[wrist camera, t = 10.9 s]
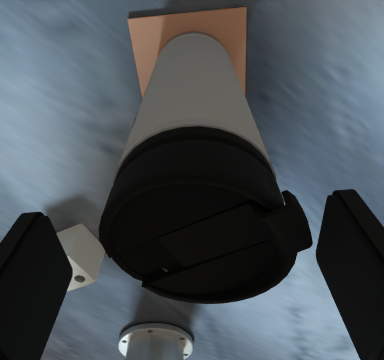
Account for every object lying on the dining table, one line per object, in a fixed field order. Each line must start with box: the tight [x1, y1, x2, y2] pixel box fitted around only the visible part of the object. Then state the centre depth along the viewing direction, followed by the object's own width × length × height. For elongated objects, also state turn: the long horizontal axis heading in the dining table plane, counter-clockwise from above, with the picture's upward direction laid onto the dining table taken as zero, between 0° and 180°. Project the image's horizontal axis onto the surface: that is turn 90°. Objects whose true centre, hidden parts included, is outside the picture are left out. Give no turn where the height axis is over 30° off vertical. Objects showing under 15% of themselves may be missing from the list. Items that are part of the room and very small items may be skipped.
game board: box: [127, 7, 247, 99], centre depth 30 cm, size 26×10×1 cm, turn 5°
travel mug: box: [99, 31, 313, 304], centre depth 17 cm, size 6×7×20 cm
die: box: [56, 223, 105, 291], centre depth 36 cm, size 5×5×5 cm
